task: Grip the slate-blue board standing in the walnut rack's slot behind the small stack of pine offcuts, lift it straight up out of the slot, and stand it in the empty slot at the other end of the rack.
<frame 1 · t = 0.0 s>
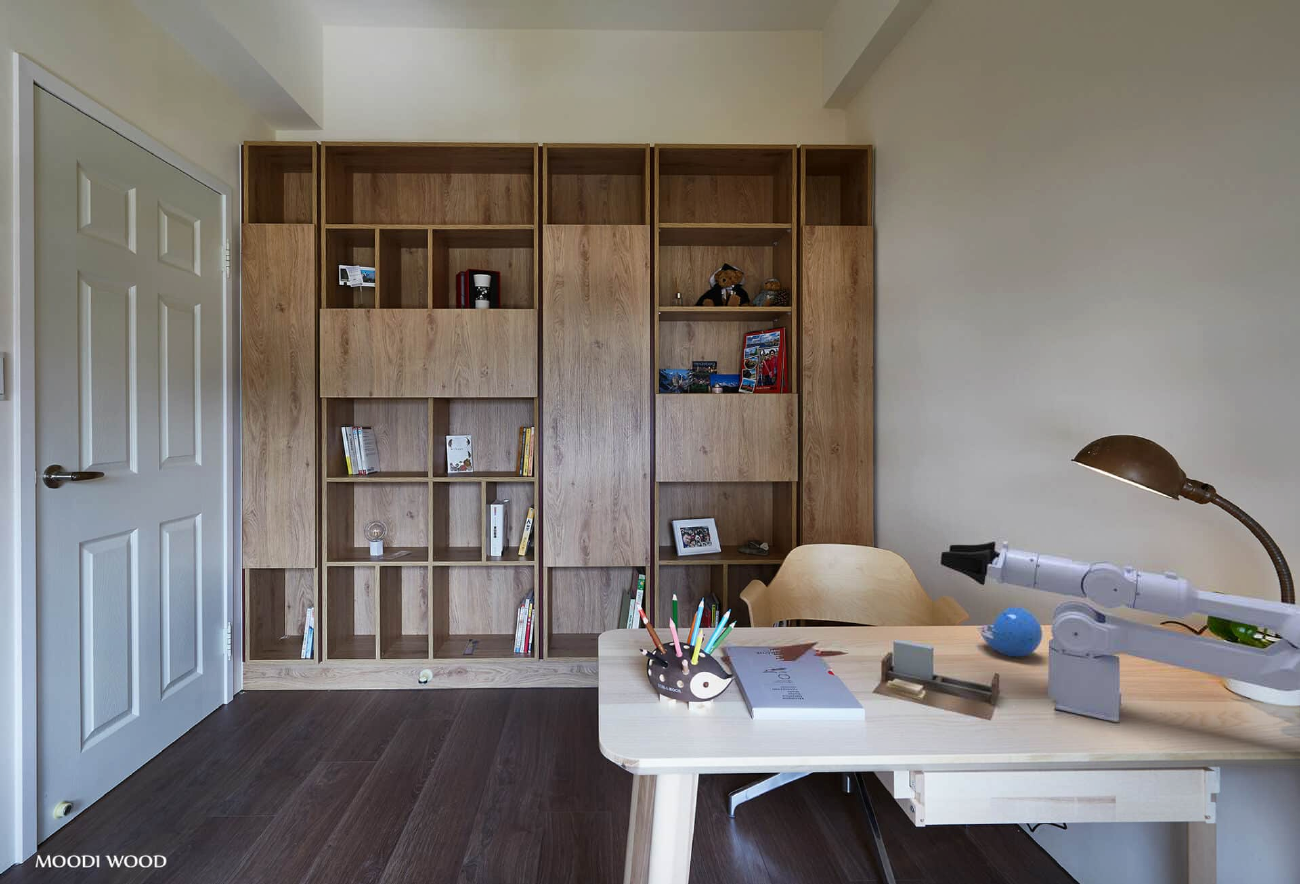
hand: (945, 554, 110), 22 cm above the table, tool horizontal, fingers open, 7 cm apart
offcut stack: (905, 693, 102), point 1 cm above the table, touching walnut rack
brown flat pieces: (790, 661, 120), on the table
walnut rack: (936, 697, 103), on the table
cell model: (1008, 654, 122), on the table
slate board: (912, 682, 106), point 1 cm above the table, touching walnut rack
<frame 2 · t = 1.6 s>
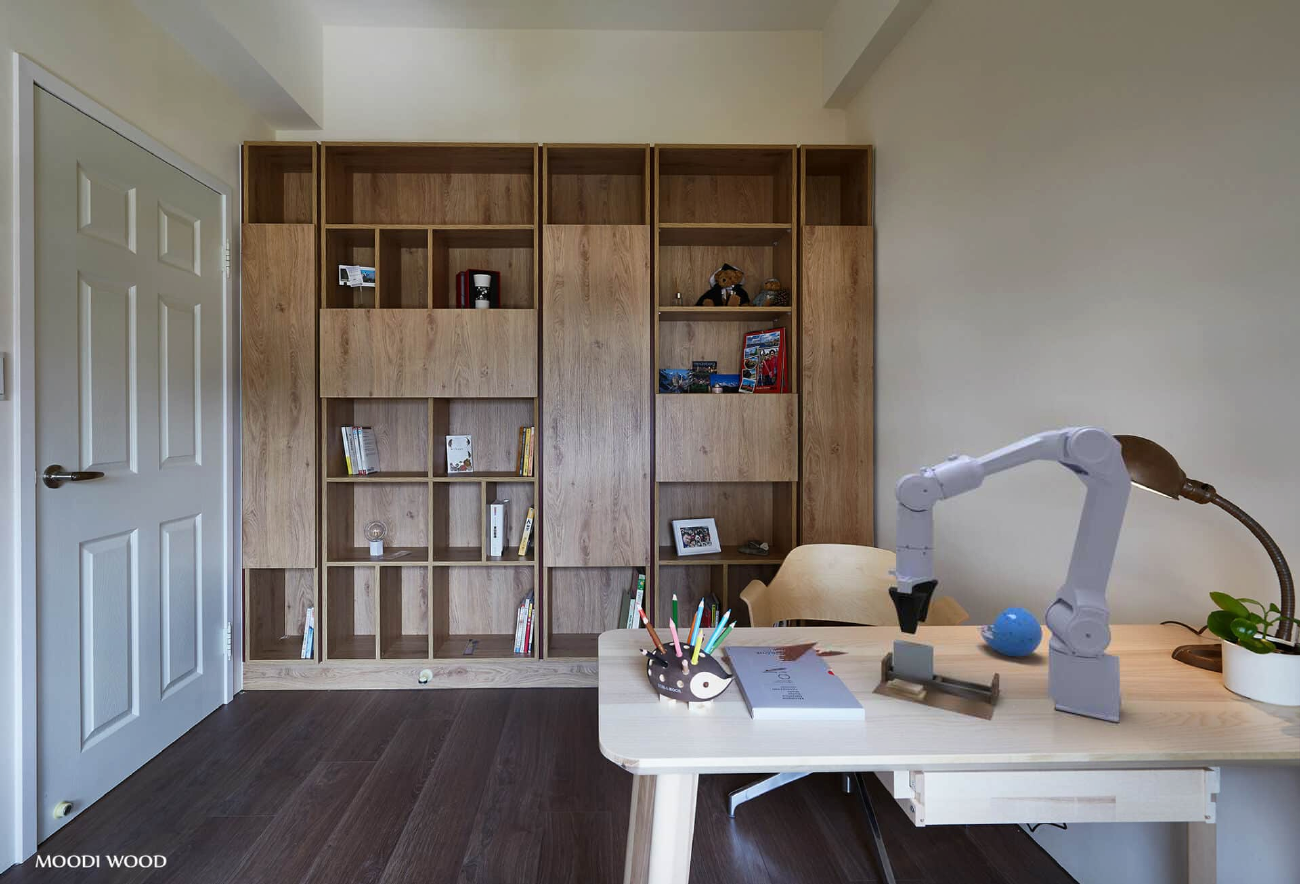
hand: (913, 626, 106), 10 cm above the table, tool pointing down, fingers open, 7 cm apart
nothing on the table moved.
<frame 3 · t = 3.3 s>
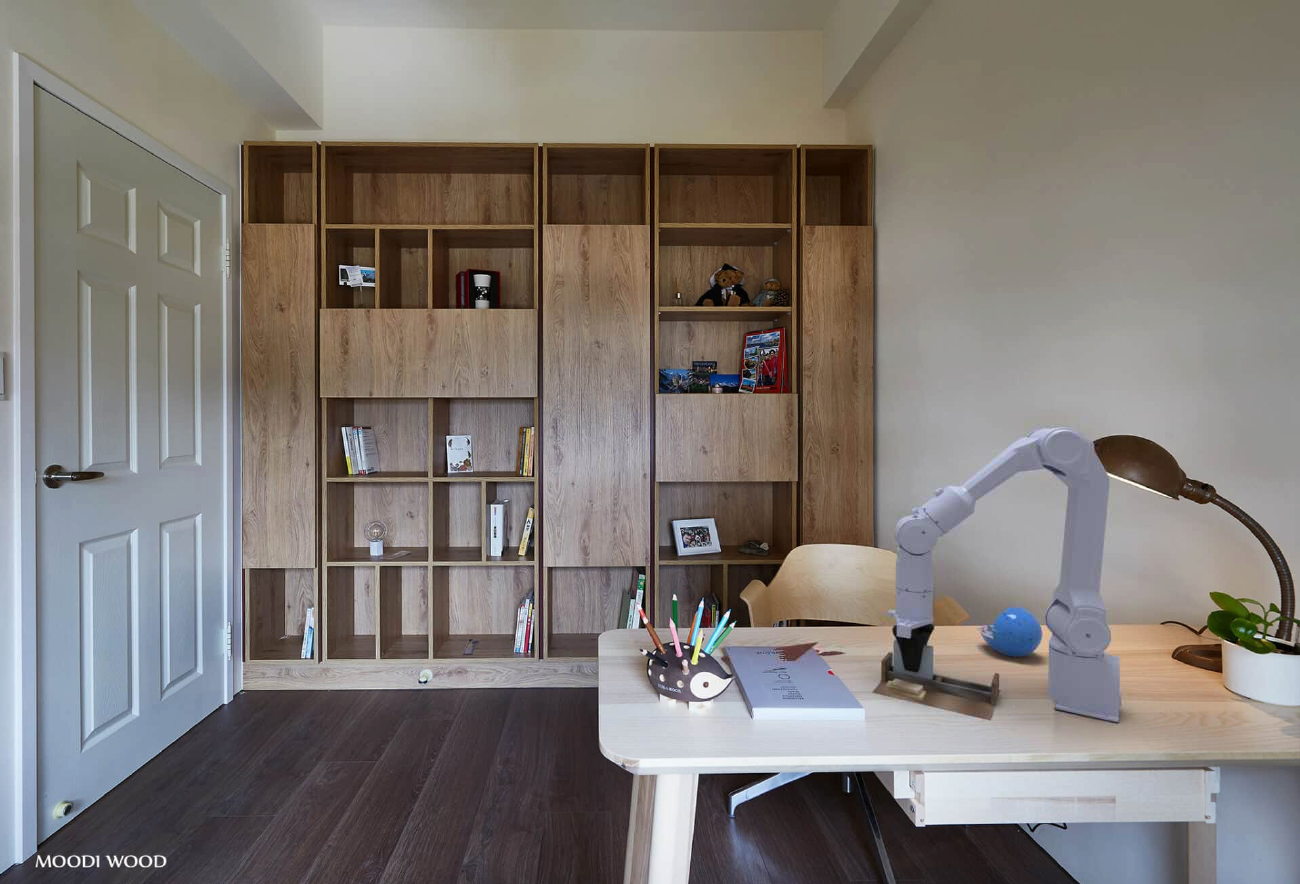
hand: (913, 668, 106), 3 cm above the table, tool pointing down, fingers closed on slate board, 1 cm apart
slate board: (912, 682, 106), point 1 cm above the table, touching gripper, walnut rack
everything else where it was.
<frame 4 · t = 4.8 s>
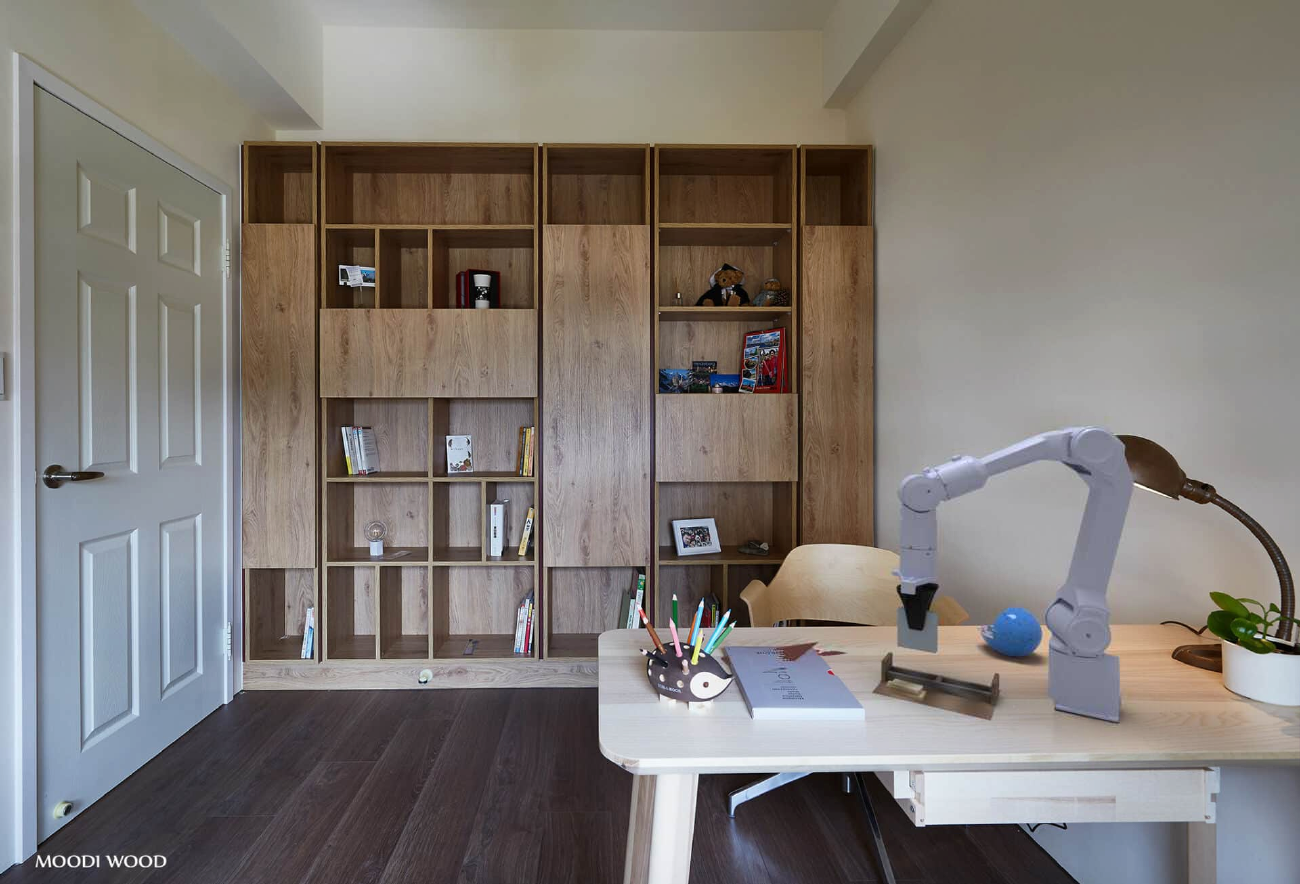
hand: (917, 627, 105), 10 cm above the table, tool pointing down, fingers closed on slate board
slate board: (917, 648, 106), point 7 cm above the table, touching gripper
everything else where it was.
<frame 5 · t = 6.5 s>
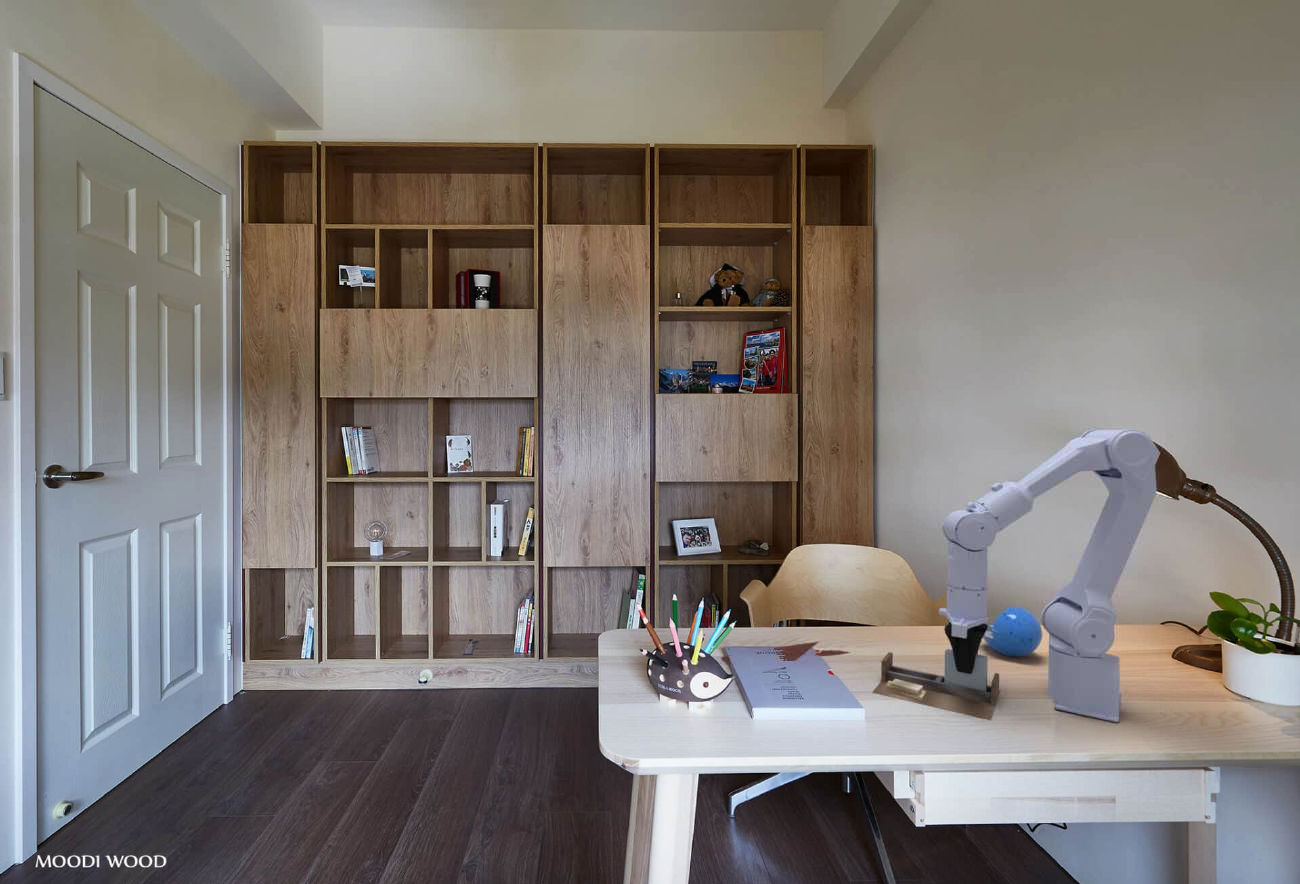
hand: (965, 670, 101), 5 cm above the table, tool pointing down, fingers closed on slate board, 1 cm apart
slate board: (965, 693, 101), point 1 cm above the table, touching gripper, walnut rack
everything else where it was.
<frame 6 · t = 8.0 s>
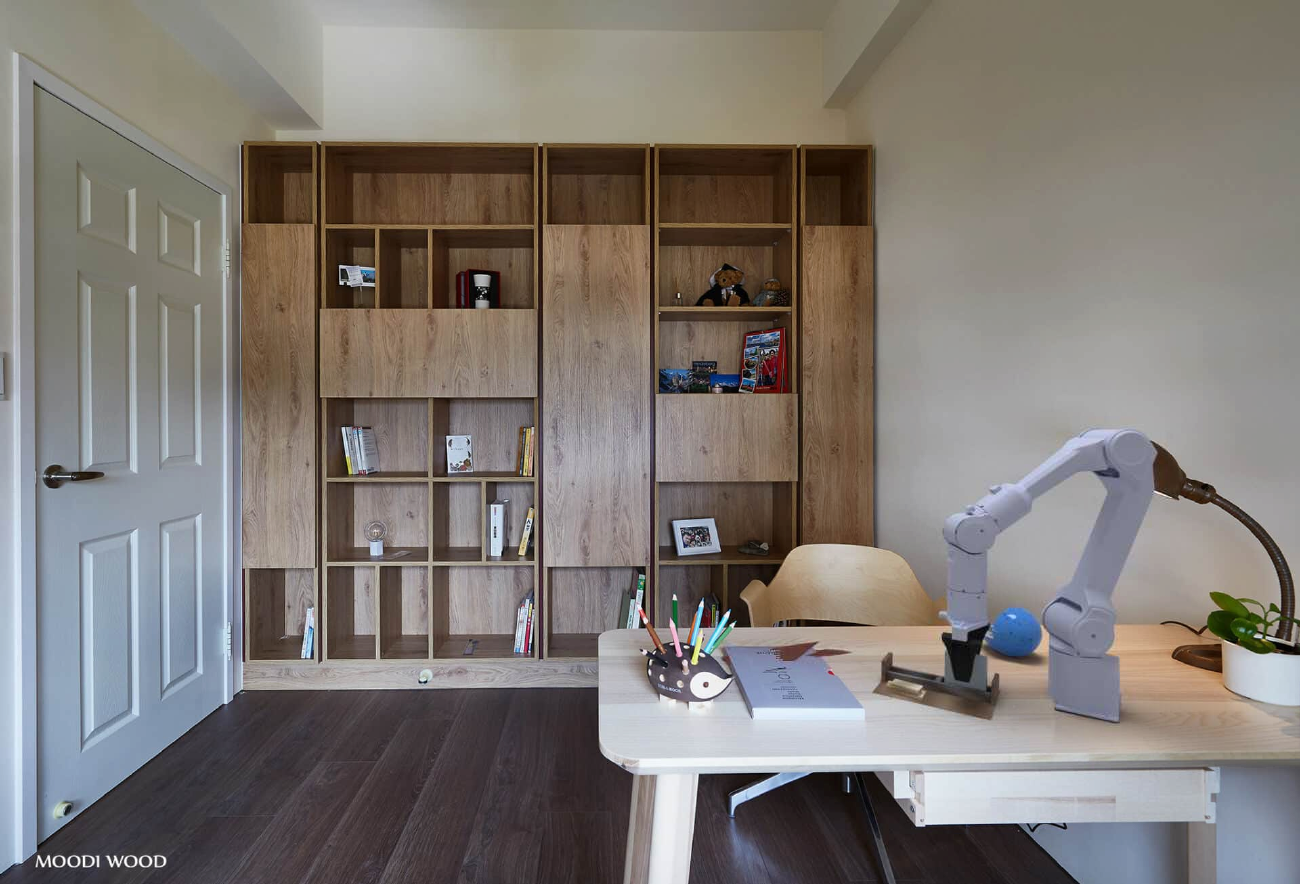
hand: (966, 672, 101), 4 cm above the table, tool pointing down, fingers open, 7 cm apart
slate board: (965, 693, 101), point 1 cm above the table, touching walnut rack
everything else where it was.
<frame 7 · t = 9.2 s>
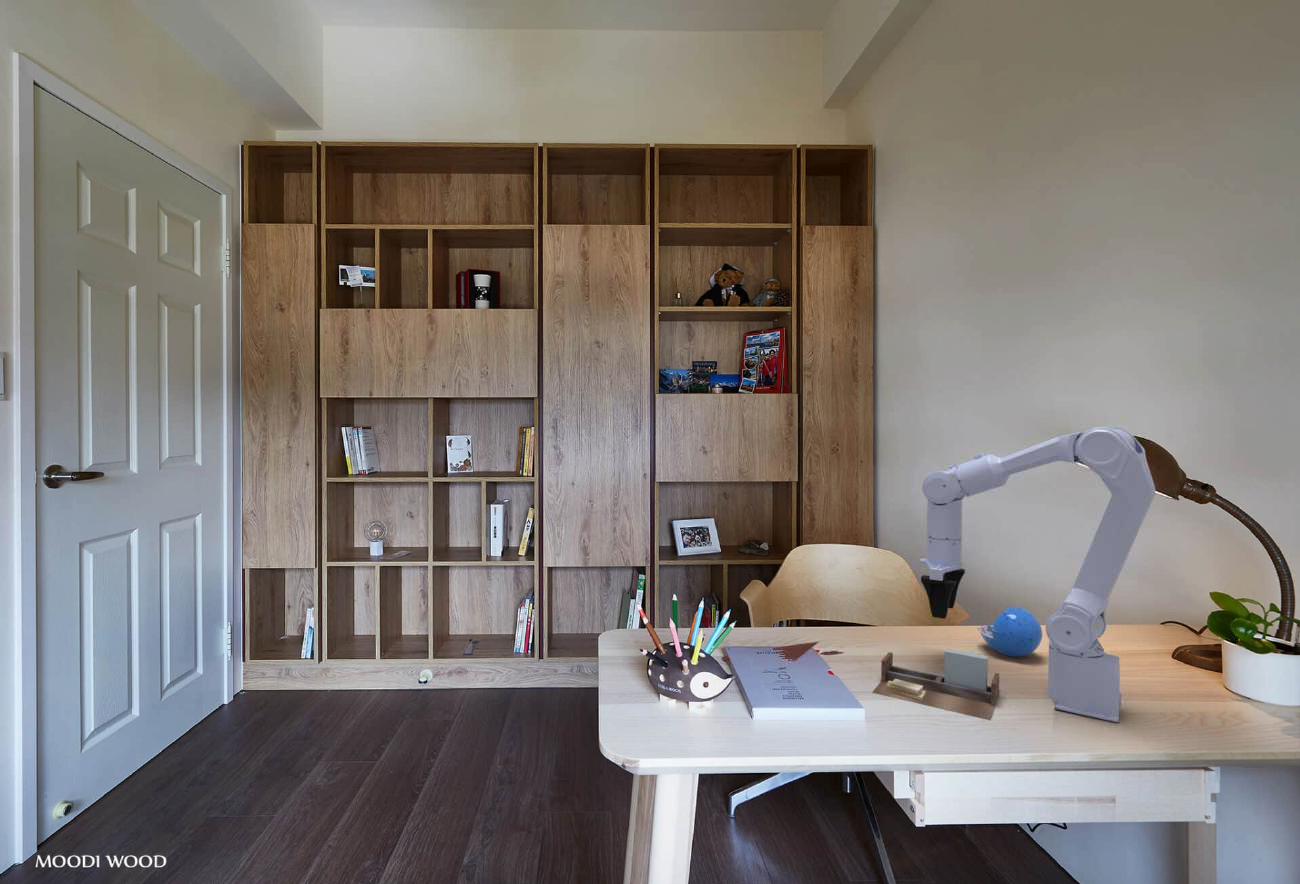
hand: (943, 612, 114), 10 cm above the table, tool pointing down, fingers open, 7 cm apart
nothing on the table moved.
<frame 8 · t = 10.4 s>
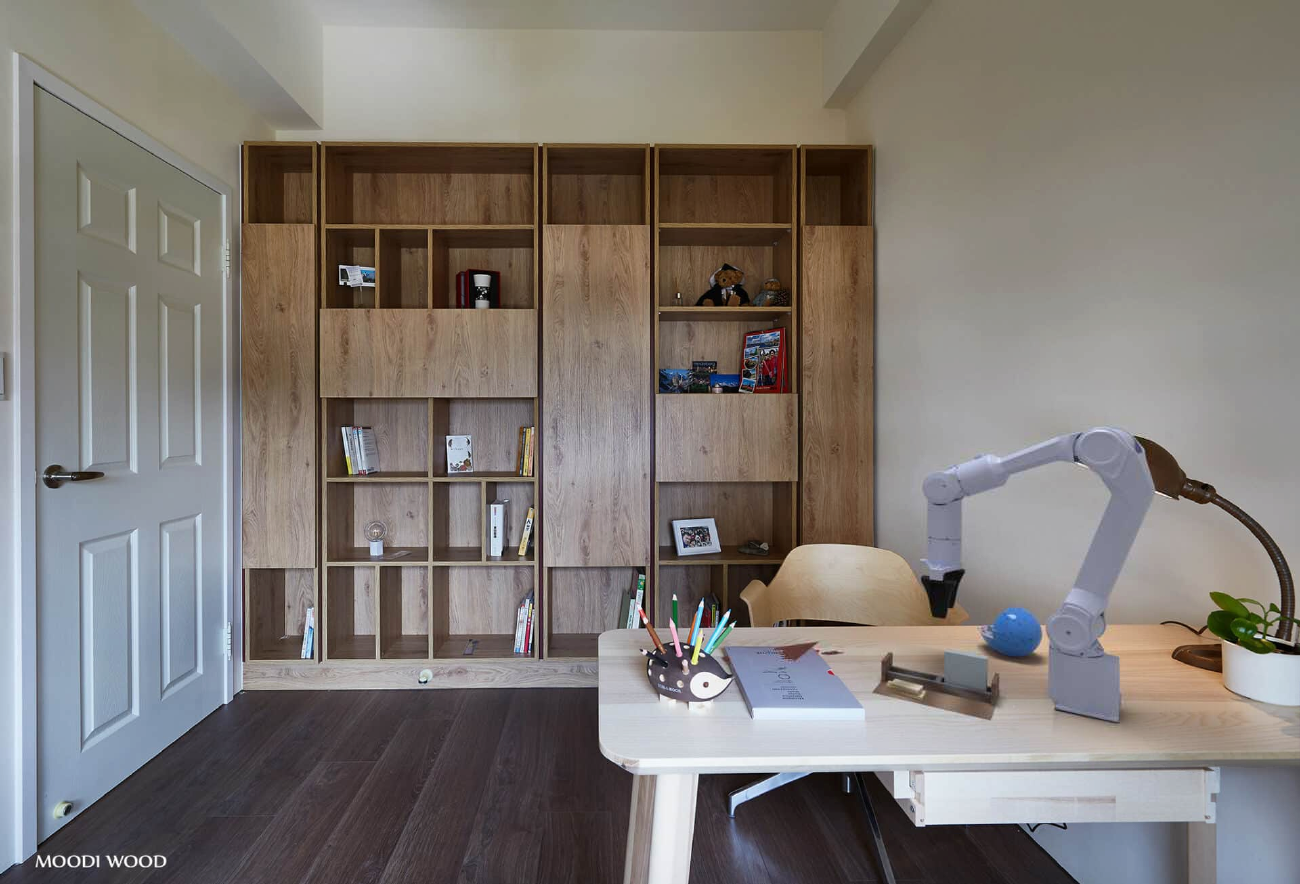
hand: (943, 612, 114), 10 cm above the table, tool pointing down, fingers open, 7 cm apart
nothing on the table moved.
at the end: slate board 0.0 cm from the target spot, point 1.0 cm above the table; slate board tilted 0°; the gripper is holding nothing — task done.
